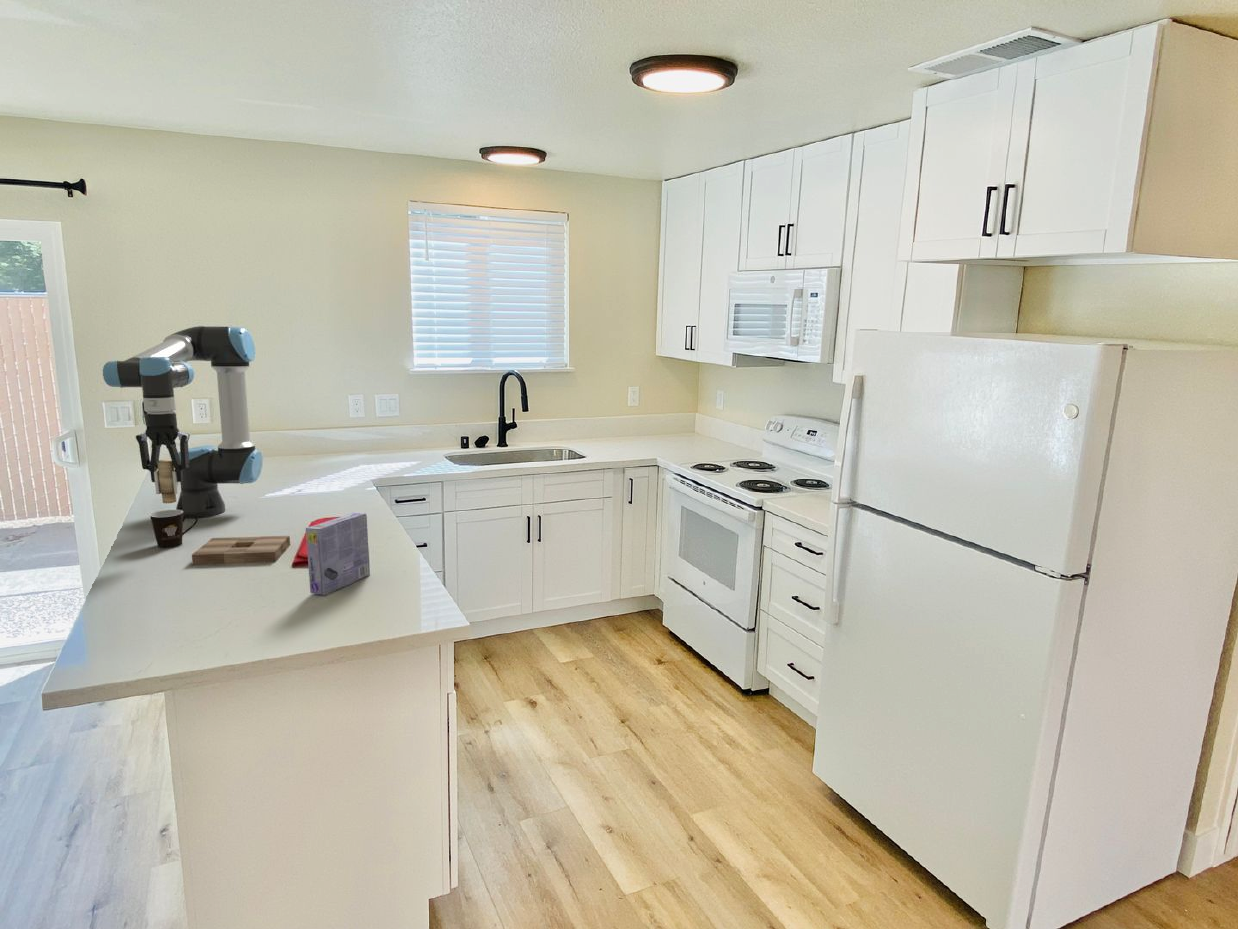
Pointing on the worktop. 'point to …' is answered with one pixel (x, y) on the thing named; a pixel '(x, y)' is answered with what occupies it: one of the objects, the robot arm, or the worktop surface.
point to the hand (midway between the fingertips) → (168, 492)
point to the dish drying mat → (302, 554)
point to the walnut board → (241, 550)
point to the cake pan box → (337, 553)
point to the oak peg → (166, 480)
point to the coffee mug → (169, 527)
